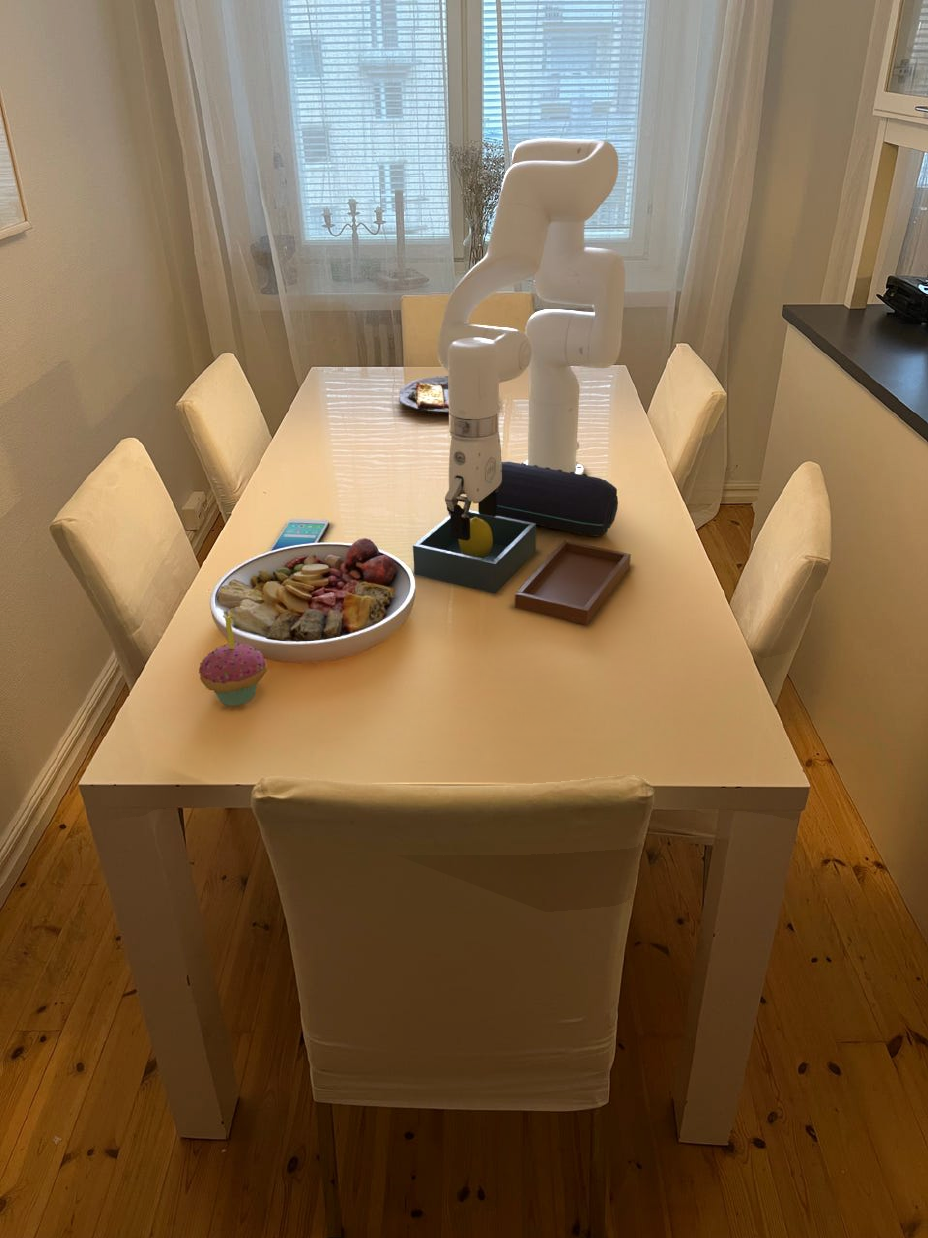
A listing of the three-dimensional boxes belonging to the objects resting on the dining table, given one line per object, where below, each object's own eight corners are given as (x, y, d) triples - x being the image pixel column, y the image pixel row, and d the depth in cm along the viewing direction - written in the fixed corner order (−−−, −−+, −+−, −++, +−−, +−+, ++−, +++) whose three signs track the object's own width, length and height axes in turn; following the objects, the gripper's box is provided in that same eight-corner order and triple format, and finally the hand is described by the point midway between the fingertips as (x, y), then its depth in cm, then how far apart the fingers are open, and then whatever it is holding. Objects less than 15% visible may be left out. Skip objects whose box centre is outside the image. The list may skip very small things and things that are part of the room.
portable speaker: (624, 526, 164) (628, 473, 158) (604, 549, 156) (607, 495, 151) (497, 500, 174) (496, 449, 169) (472, 521, 167) (471, 469, 161)
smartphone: (330, 519, 166) (307, 559, 153) (330, 524, 166) (308, 563, 154) (289, 518, 167) (264, 557, 154) (290, 522, 167) (264, 561, 155)
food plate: (498, 419, 211) (498, 404, 209) (396, 420, 212) (395, 405, 210) (496, 384, 232) (496, 371, 231) (403, 386, 233) (403, 372, 231)
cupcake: (210, 679, 126) (195, 603, 120) (273, 675, 127) (261, 599, 121) (200, 717, 119) (184, 639, 113) (267, 713, 120) (254, 635, 113)
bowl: (332, 699, 122) (326, 649, 118) (171, 636, 136) (161, 589, 132) (454, 598, 143) (453, 553, 139) (305, 553, 157) (300, 511, 153)
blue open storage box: (458, 535, 162) (457, 507, 159) (535, 551, 156) (536, 523, 153) (414, 574, 150) (412, 545, 147) (495, 594, 144) (495, 564, 142)
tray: (563, 553, 156) (563, 539, 154) (629, 567, 151) (630, 553, 150) (514, 607, 141) (514, 593, 139) (586, 625, 136) (587, 610, 135)
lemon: (489, 570, 150) (489, 526, 146) (456, 567, 151) (455, 523, 147) (495, 554, 155) (495, 511, 151) (462, 552, 156) (462, 508, 152)
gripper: (470, 445, 132) (471, 552, 141) (519, 410, 145) (517, 510, 154) (424, 437, 135) (427, 543, 144) (477, 403, 148) (477, 502, 157)
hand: (474, 526), depth 149 cm, fingers open, 9 cm apart
